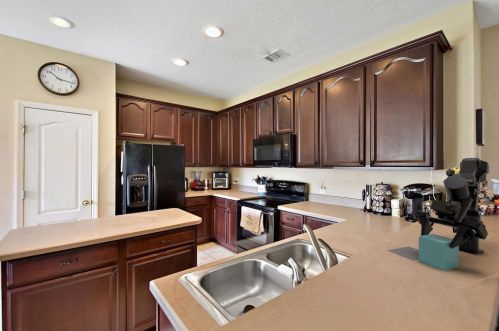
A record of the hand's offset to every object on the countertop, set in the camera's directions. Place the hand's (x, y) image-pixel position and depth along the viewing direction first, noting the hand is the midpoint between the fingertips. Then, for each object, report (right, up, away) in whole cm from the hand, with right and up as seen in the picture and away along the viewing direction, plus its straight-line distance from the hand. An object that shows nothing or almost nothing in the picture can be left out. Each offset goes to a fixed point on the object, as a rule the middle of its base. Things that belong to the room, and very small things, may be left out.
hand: (435, 243), depth 74 cm
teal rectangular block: (+1, -7, 0) cm, 8 cm away
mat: (-1, -7, +10) cm, 12 cm away
